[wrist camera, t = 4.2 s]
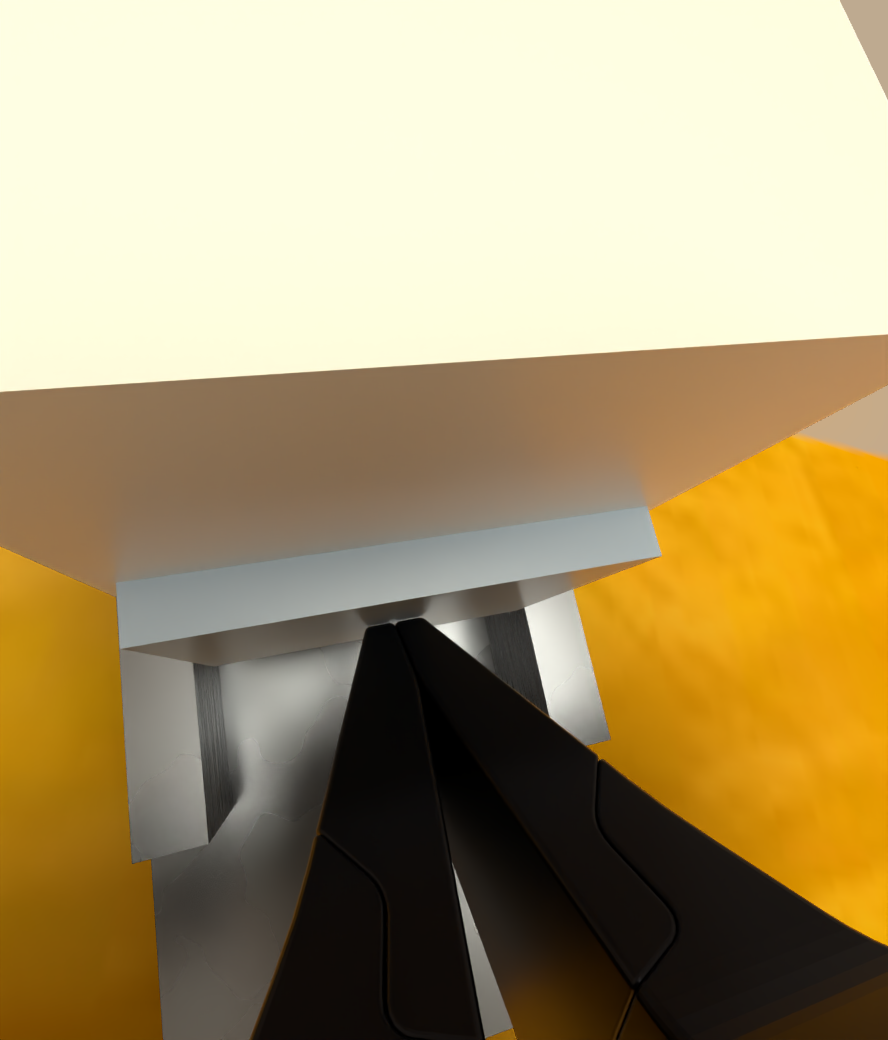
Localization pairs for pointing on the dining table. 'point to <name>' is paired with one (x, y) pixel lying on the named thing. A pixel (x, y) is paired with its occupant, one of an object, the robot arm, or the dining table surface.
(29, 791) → the dining table surface
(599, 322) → the white rectangular block
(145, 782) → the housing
